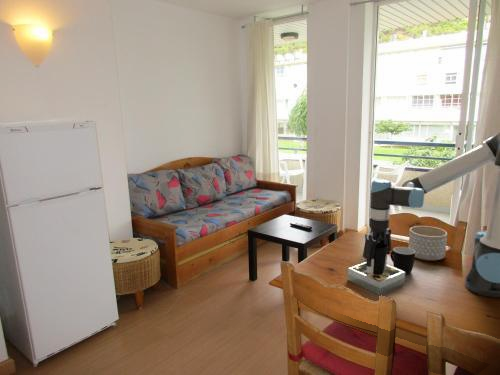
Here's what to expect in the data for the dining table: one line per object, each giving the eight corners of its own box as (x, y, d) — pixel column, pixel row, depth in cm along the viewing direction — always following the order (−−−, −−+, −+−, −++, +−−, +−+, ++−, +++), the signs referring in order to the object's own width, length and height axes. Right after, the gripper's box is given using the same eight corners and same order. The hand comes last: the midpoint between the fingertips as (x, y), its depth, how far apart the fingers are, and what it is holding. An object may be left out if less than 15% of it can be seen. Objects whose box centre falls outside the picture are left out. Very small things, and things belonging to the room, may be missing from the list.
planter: (423, 264, 170) (425, 238, 168) (400, 251, 186) (402, 227, 183) (452, 260, 174) (455, 234, 172) (428, 247, 190) (430, 224, 187)
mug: (418, 274, 160) (419, 252, 158) (402, 277, 157) (403, 255, 155) (398, 263, 171) (399, 243, 169) (382, 267, 168) (383, 246, 166)
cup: (375, 277, 148) (377, 249, 146) (362, 270, 155) (363, 243, 152) (390, 273, 151) (391, 246, 149) (376, 266, 158) (378, 240, 155)
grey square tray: (404, 284, 152) (405, 271, 150) (379, 295, 143) (380, 282, 142) (372, 270, 165) (373, 259, 164) (347, 280, 156) (348, 268, 155)
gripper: (387, 211, 157) (384, 261, 161) (354, 220, 146) (352, 273, 150) (403, 215, 150) (399, 267, 155) (370, 225, 140) (367, 280, 144)
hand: (376, 270), depth 153 cm, fingers closed on cup, 8 cm apart
